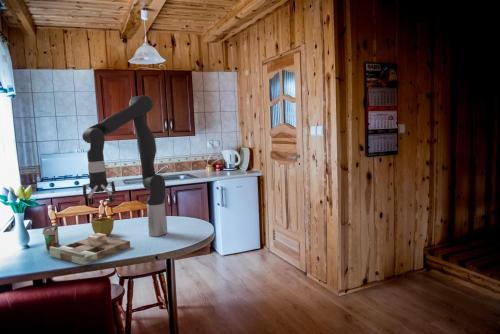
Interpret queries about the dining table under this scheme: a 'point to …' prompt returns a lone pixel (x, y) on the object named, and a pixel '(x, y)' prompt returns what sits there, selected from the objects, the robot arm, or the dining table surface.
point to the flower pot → (103, 225)
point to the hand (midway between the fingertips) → (100, 204)
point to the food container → (51, 236)
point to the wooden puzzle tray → (88, 250)
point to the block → (97, 239)
